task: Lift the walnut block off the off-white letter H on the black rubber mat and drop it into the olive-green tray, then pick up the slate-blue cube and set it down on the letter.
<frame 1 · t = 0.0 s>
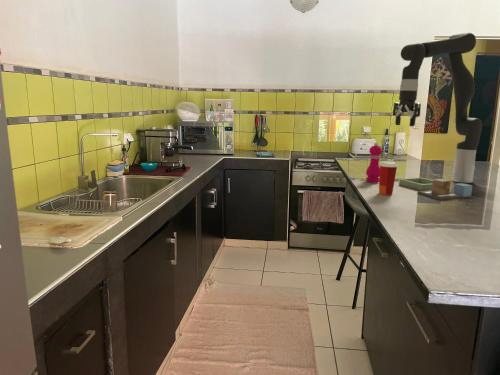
hand: (404, 125, 182), 29 cm above the worktop, fingers open, 8 cm apart
paper cup: (385, 194, 172), on the worktop
walnut block: (440, 193, 172), point 1 cm above the worktop, touching letter mat
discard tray: (420, 187, 189), on the worktop
slate cube: (461, 195, 174), on the worktop
pepper mill: (372, 181, 199), on the worktop
letter mat: (439, 195, 172), on the worktop
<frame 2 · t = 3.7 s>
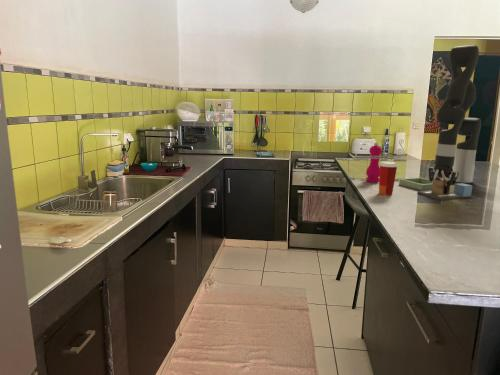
hand: (440, 192, 172), 1 cm above the worktop, fingers closed on walnut block, 5 cm apart
walnut block: (440, 193, 172), point 1 cm above the worktop, touching gripper, letter mat
everything else where it was.
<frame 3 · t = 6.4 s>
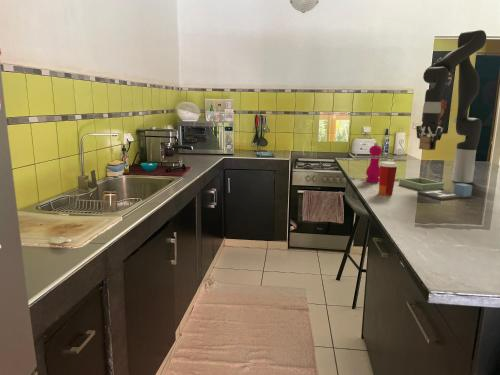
hand: (427, 148, 184), 19 cm above the worktop, fingers closed on walnut block, 5 cm apart
walnut block: (427, 149, 184), point 19 cm above the worktop, touching gripper
everything else where it was.
when the fingers open (3 cm above the worktop, at t = 9.6 s): walnut block drops 2 cm, resting on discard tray.
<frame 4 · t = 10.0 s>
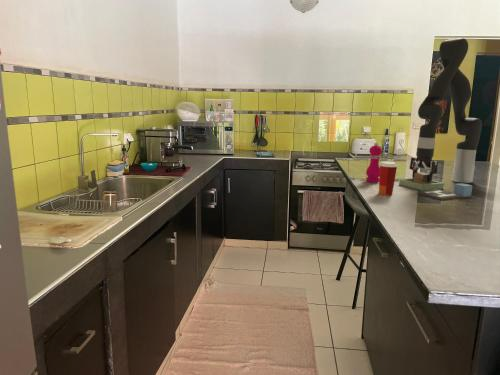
hand: (421, 180, 188), 3 cm above the worktop, fingers open, 8 cm apart
walnut block: (420, 185, 189), point 1 cm above the worktop, touching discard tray
everything else where it was.
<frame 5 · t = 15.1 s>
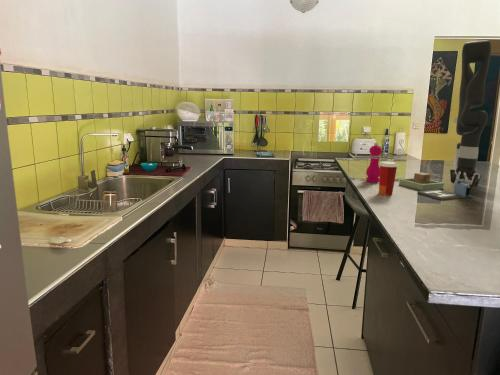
hand: (462, 194, 174), 0 cm above the worktop, fingers closed on slate cube, 5 cm apart
slate cube: (461, 195, 174), on the worktop, touching gripper
everything else where it was.
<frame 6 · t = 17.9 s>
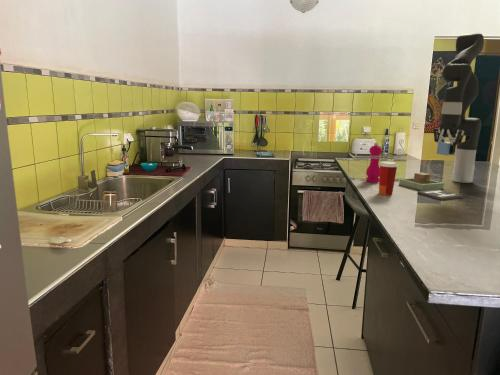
hand: (445, 153, 168), 19 cm above the worktop, fingers closed on slate cube, 5 cm apart
slate cube: (445, 154, 168), point 18 cm above the worktop, touching gripper
everything else where it was.
when the fingers open (3 cm above the worktop, at t = 21.2 s): slate cube drops 1 cm, resting on letter mat.
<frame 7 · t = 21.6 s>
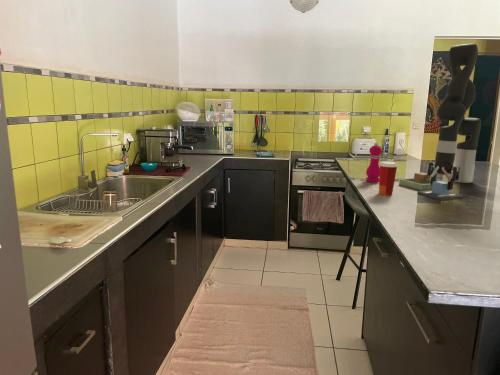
hand: (440, 187, 171), 4 cm above the worktop, fingers open, 8 cm apart
slate cube: (440, 193, 172), point 1 cm above the worktop, touching letter mat
everything else where it was.
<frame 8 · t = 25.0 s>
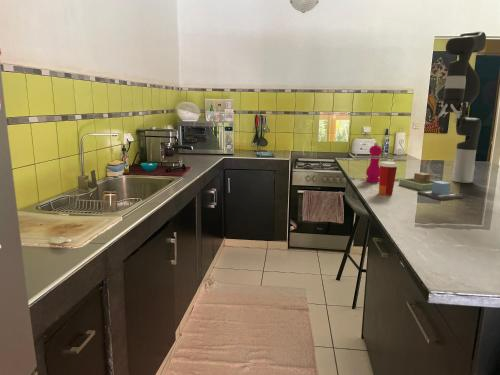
hand: (449, 127, 165), 30 cm above the worktop, fingers open, 8 cm apart
nothing on the worktop moved.
at the end: walnut block inside the target area on the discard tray (0.1 cm from its centre), point 0.6 cm above the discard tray's base; slate cube inside the target area on the letter mat (0.0 cm from its centre), point 1.0 cm above the letter mat's base; slate cube tilted 0° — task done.
